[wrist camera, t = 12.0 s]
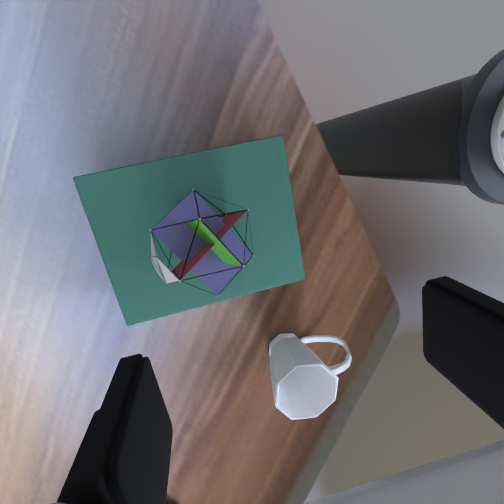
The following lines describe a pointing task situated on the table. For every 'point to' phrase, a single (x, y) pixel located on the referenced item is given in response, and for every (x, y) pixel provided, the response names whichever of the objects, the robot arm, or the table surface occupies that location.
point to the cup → (303, 375)
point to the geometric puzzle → (201, 243)
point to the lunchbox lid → (219, 186)
